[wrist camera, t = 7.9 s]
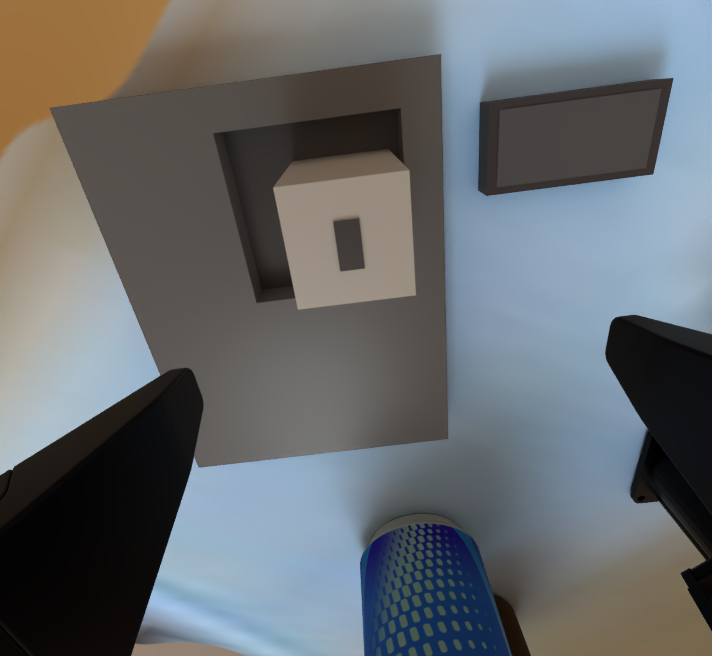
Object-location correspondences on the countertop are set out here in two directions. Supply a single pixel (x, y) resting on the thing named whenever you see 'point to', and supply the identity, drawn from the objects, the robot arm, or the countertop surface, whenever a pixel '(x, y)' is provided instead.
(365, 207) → the block
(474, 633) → the beer can
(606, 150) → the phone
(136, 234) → the outlet plate
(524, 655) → the olive oil
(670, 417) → the robot arm
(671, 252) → the countertop surface
